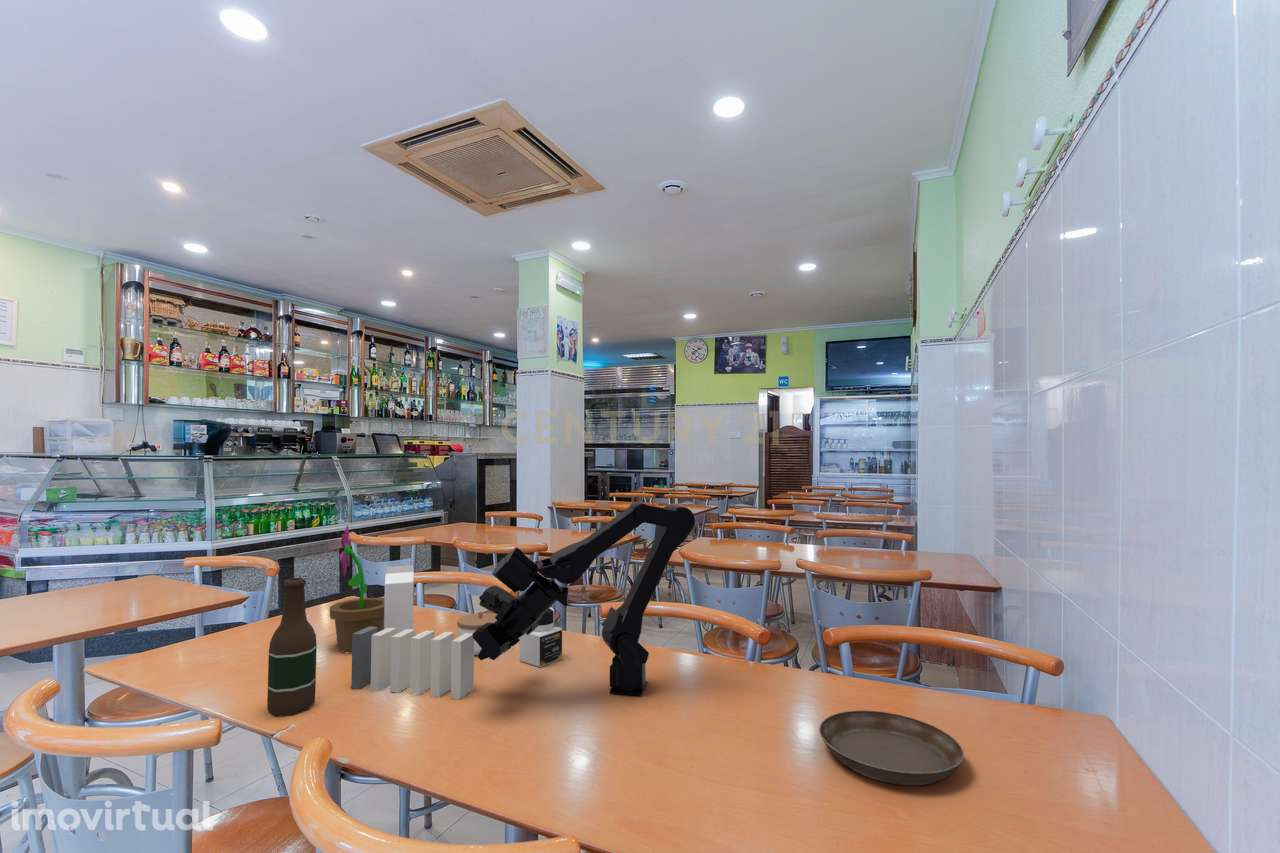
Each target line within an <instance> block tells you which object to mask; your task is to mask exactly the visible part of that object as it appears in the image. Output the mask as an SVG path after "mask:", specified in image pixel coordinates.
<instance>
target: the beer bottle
mask: <svg viewBox="0 0 1280 853" xmlns="http://www.w3.org/2000/svg"><path fill="white" fill-rule="evenodd" d="M306 585H307V581H306V578H304V577H303V578H302V577H292V578H288V579H287V580H284V582H283V585H282V587H283V588H284V593H283V594H284V595H283V604H282V615H281V619H280V624H279V626H278V627H277V628H276V629H275V631H274V632H273V633H272V634H273V635H272V636H271V639H270V641H269V645H268V646H269V648H268V660H267V661H268V662H267V663H268V664H267V666H268V669H267V697H266V699H267V700H266V702H267V705H266V706H267V712H268V713H269V714H271V715H272V716H274V717H287V716H289V717H290V716H295V715H297V714H300V713H303V712H305V711H308V710H309V709H310V708H311V707H312V706H313V705H314V704H315V700H316V688H317V687H316V684H317V683H316V681H317V675H316V674H317V647H318V646H317V634H316V632H315V629H314V628H313V626H312V624H310V622H309V621H308V617H307V612H306V594H305V593H306V592H305V586H306Z"/></svg>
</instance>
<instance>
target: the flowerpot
mask: <svg viewBox="0 0 1280 853" xmlns="http://www.w3.org/2000/svg"><path fill="white" fill-rule="evenodd" d="M349 536H350V530H349V525H347V524H346V527H345V528H344V533H342V535H341V540H340V541H341V548H343V551H341V553H340V555H339V556H340V557H339V564H342V565H341V572H342V577H345V576H346V573H347V569H348V568H349V567H350V566H349V565H350V560H351V559H350V558H351V557H352V559H353V561H354V563H355V565H356V566H357V573H356V574H354V575H353V577H351V579H349V581H348V583H347V585H348V586H350V587H352V588H357V587H359V598H356V599H355V598H354V599H348V600H345V601H340V602H336V603H335V604H332V605H331V606H330V607H329V618H330V620H334V626H335V634H336V635H335V636H336V642H337V649H339V650H338V652H340V651H344V652H352V634H353V633H355V632H358V631H360V630H362V629H365V628H367V627H378V632H380V631H382V630H384V603H385V597H384V598H383V597H365V593H367V592H368V583H365V579H364V574H363V569H362V564H361V562H360V560H359V559H358V556H357V554H356V553H355V551H353V550H352V548H351V538H349ZM350 555H351V557H350ZM347 567H348V568H347ZM344 652H343V653H344Z"/></svg>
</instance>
